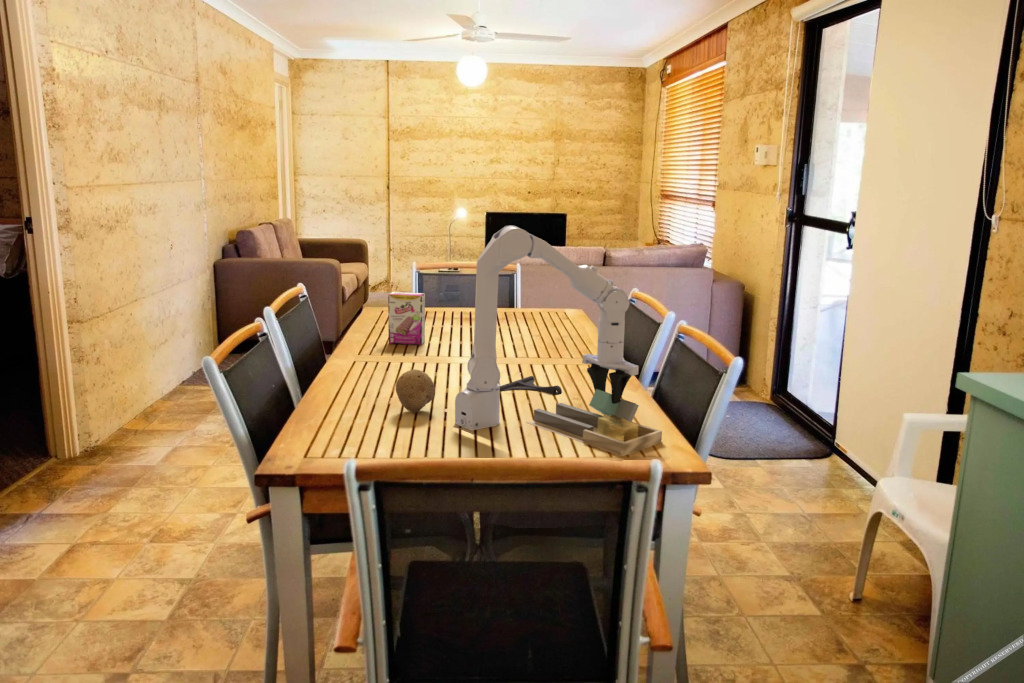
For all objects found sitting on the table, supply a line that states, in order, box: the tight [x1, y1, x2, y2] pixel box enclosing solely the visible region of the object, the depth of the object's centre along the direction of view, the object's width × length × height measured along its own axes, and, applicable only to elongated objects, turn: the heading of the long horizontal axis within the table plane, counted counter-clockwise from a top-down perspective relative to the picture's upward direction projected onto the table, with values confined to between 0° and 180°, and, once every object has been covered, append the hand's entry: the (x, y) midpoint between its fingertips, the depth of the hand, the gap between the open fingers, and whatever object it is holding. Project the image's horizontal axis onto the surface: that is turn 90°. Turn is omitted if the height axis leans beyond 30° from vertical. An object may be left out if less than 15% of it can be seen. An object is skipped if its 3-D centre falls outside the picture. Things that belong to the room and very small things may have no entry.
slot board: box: [526, 402, 663, 457], centre depth 164 cm, size 13×27×4 cm, turn 43°
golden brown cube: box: [597, 415, 626, 437], centre depth 161 cm, size 4×4×4 cm
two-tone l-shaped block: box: [588, 389, 640, 422], centre depth 171 cm, size 5×8×6 cm
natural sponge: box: [395, 368, 436, 414], centre depth 178 cm, size 9×9×10 cm
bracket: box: [500, 375, 563, 396], centre depth 200 cm, size 14×15×3 cm
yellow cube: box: [610, 420, 639, 442], centre depth 158 cm, size 4×4×4 cm
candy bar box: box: [387, 291, 426, 346], centre depth 249 cm, size 11×5×16 cm, turn 84°
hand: (608, 400), depth 173 cm, fingers closed on two-tone l-shaped block, 4 cm apart
